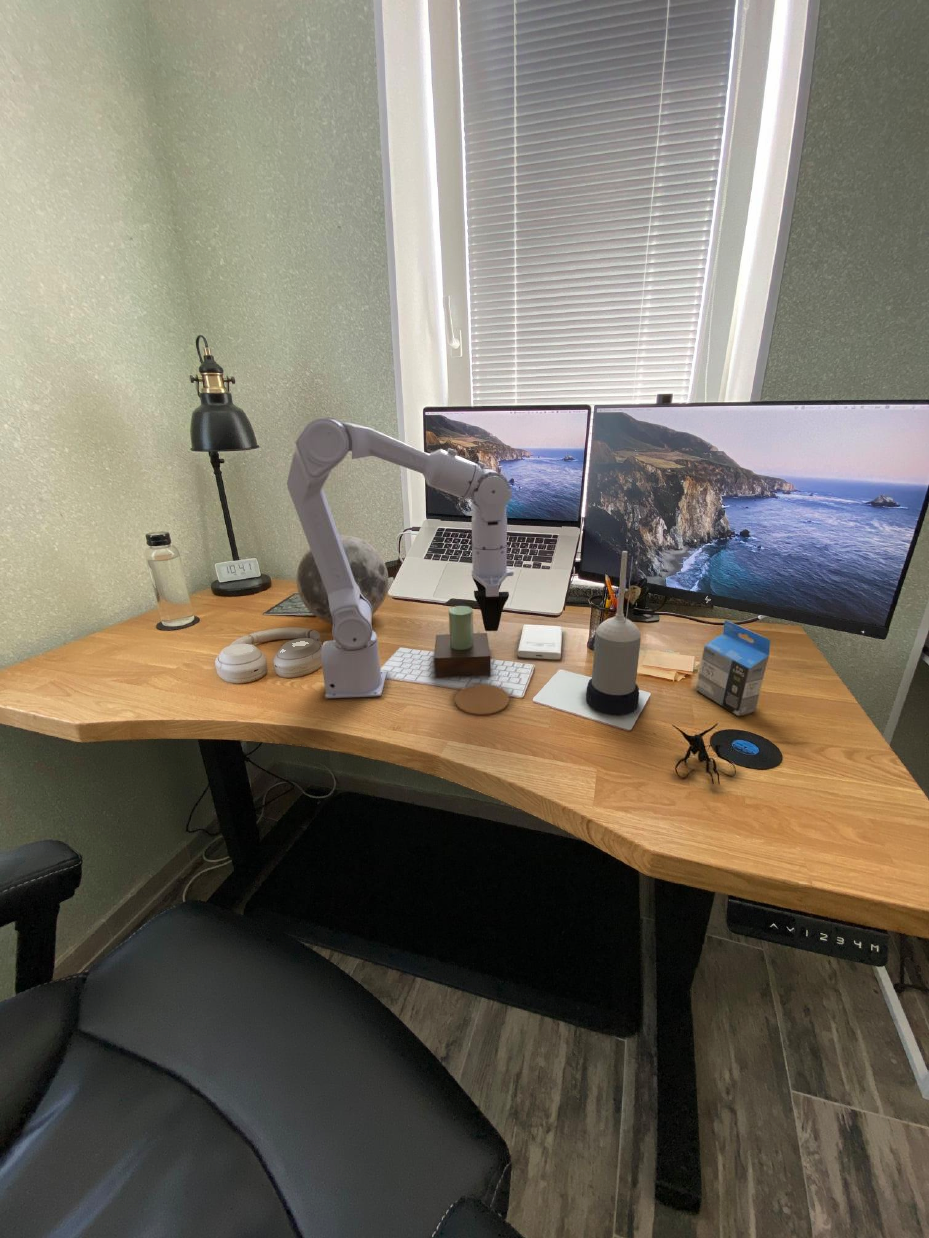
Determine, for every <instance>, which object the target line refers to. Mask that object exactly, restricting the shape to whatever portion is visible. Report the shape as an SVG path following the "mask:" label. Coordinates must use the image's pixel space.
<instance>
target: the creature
mask: <svg viewBox="0 0 929 1238" xmlns="http://www.w3.org/2000/svg"><path fill="white" fill-rule="evenodd" d="M717 725H719V724H718V722H716V723H715V724H714V725H713V726H712V727H711V728H709V729H706V730H704V731H702V732H700V733H699V734H697V733H695V734H694V735H689V734H687V733H686V732H684V731H683V730H681V729H680V728H678V727H677V726H676V725H674V724H672V727H673V728H674V729H676V730H677V731H678V732H679V733H680V734H681V735H682V736H683V738H684V739H685V740H686V741H687V742H688V743H689V747H688V748H687V750H686V753H685V756H684V757H683V758H681V759H680V760H678V762H677V763H676V765H675V768H674V770H675V773H676V775H677V776H678V777H679V778H680V779H683V780H685V779H687V778H688V777H689V776H690V774H691V773H693V772H695V771H696V770H694V769H691V770H690V771H689V772H688V773H687V774H686V776H684V777H683V776H680V775H679V772H678V770H677V769H678V767H679V765H680V764H681V763H682V762H684V764H685V766H687V760H688V759H689V758H690V757H691V754H692V755H693V756H695V755H696V754H697V760H698V762H699V763H702V764H703V763H704V762H705V773H707V774H709V776H710V777H711V784H712V785H713V786H714V784H715V783H714V777H713V774H712V772H711V771H713V772H714V773H715V775H716V776H717V782H718V785H720V773H722V774H724V775H725V776H728V777H730V778H731V777H735V775H736V773H737V769H736V766H735V765H734V763H733V762H731V760H729V759H727V758H726V757H724V756H723V755H722V754H721V753H720V750H719V748H722V745H721V744H719V743H716V744H715V745H714V751H715V752H714V753H715V754H716V756H717V758H719V759H721V760H724V761H726V762H727V763H728V764H730V765H732V767H733V768H734V774H733V775H728V774H727V773H726V772H724V771H721V770H718V769H717V762H716V760H715V759H714V758H713V757H710V756H709V754H708V750H709V749H710V748H711V746H712V744H708V745H705V741H704V738H703V737H704V736H705V735H706V734H708V733H709V732H711V731H712V730H713V729H715V728H716V727H717ZM706 747H708V748H706ZM711 760H712V761H711ZM710 763H712V765H713V768H712V769H711V771H710ZM719 772H720V773H719Z"/></svg>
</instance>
